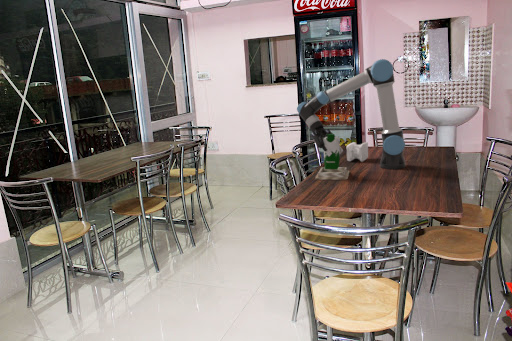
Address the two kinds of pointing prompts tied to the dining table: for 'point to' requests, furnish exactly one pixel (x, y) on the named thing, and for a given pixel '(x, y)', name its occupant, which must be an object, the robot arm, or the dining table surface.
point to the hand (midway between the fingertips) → (336, 153)
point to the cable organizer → (357, 151)
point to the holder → (332, 174)
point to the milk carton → (334, 147)
